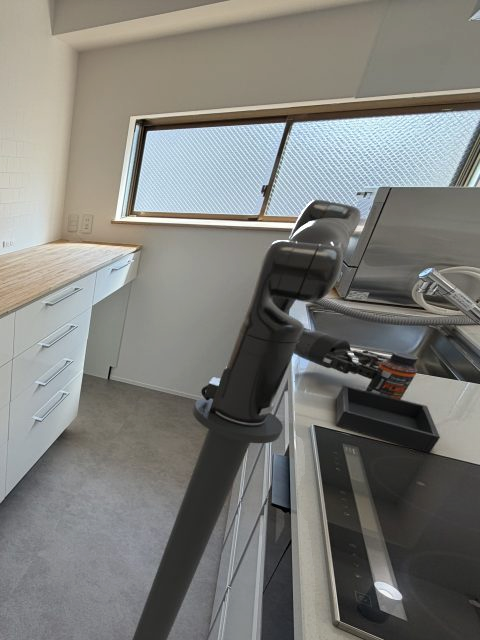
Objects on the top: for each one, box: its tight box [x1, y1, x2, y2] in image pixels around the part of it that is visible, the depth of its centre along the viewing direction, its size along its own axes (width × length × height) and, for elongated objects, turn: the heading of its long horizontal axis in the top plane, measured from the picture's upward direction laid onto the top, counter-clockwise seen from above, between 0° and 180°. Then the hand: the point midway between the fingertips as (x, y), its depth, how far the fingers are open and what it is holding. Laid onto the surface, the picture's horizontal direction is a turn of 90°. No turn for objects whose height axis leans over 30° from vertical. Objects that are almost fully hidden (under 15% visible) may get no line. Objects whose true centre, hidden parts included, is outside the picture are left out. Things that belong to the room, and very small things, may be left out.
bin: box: [335, 384, 441, 454], centre depth 84 cm, size 14×16×4 cm
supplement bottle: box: [365, 351, 419, 400], centre depth 91 cm, size 6×6×11 cm
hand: (392, 374), depth 91 cm, fingers open, 8 cm apart
